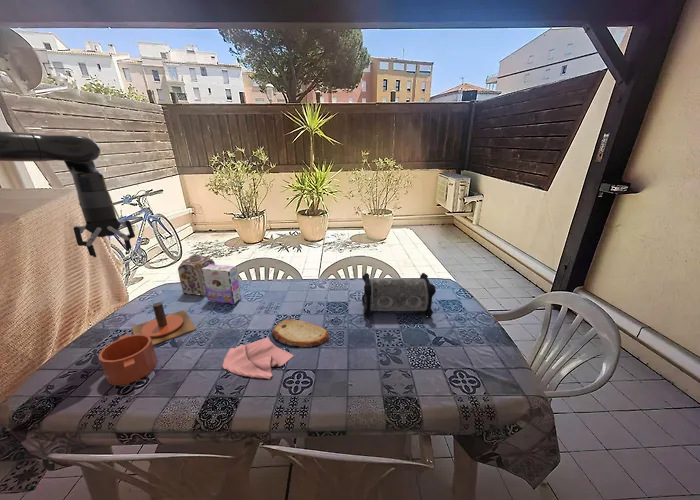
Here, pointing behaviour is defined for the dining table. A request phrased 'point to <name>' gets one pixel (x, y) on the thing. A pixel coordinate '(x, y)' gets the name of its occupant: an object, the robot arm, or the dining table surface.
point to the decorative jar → (193, 274)
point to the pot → (128, 359)
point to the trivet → (182, 330)
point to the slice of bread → (299, 333)
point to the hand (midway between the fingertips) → (112, 253)
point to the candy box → (221, 283)
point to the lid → (161, 322)
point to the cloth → (255, 359)
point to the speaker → (398, 295)
